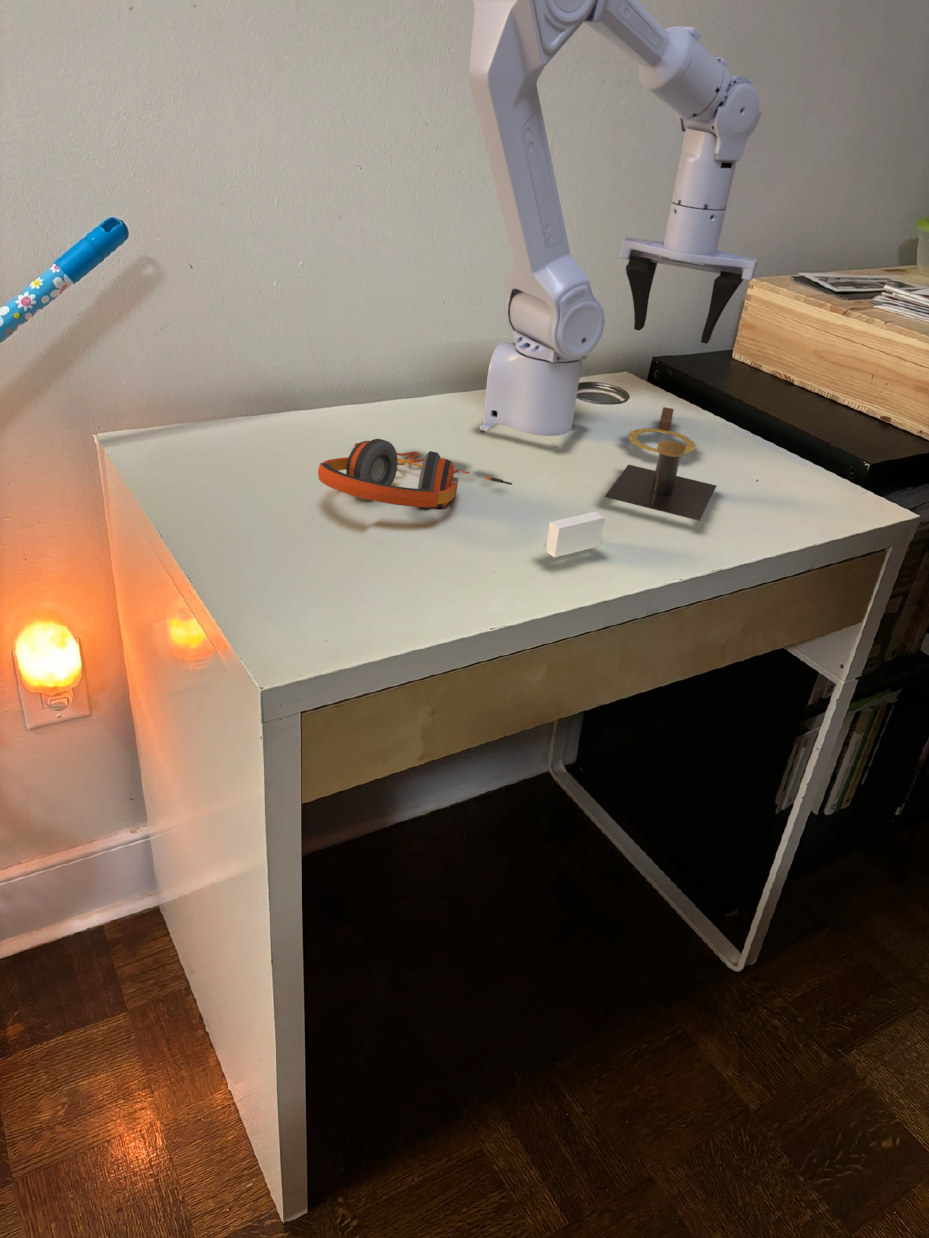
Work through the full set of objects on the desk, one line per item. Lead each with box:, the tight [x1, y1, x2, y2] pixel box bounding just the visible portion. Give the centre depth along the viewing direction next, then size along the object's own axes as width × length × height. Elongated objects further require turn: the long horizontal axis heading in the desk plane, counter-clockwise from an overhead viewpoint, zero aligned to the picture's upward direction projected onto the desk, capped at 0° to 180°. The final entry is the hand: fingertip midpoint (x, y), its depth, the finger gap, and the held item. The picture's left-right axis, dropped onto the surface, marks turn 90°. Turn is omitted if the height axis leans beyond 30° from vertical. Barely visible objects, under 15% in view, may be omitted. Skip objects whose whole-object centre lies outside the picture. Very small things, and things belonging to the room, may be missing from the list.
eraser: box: [545, 511, 606, 558], centre depth 77 cm, size 1×5×4 cm, turn 123°
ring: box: [627, 406, 696, 455], centre depth 102 cm, size 12×7×2 cm, turn 166°
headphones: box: [317, 438, 513, 510], centre depth 83 cm, size 17×5×20 cm
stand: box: [604, 440, 717, 522], centre depth 88 cm, size 9×9×6 cm
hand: (671, 334), depth 105 cm, fingers open, 7 cm apart
